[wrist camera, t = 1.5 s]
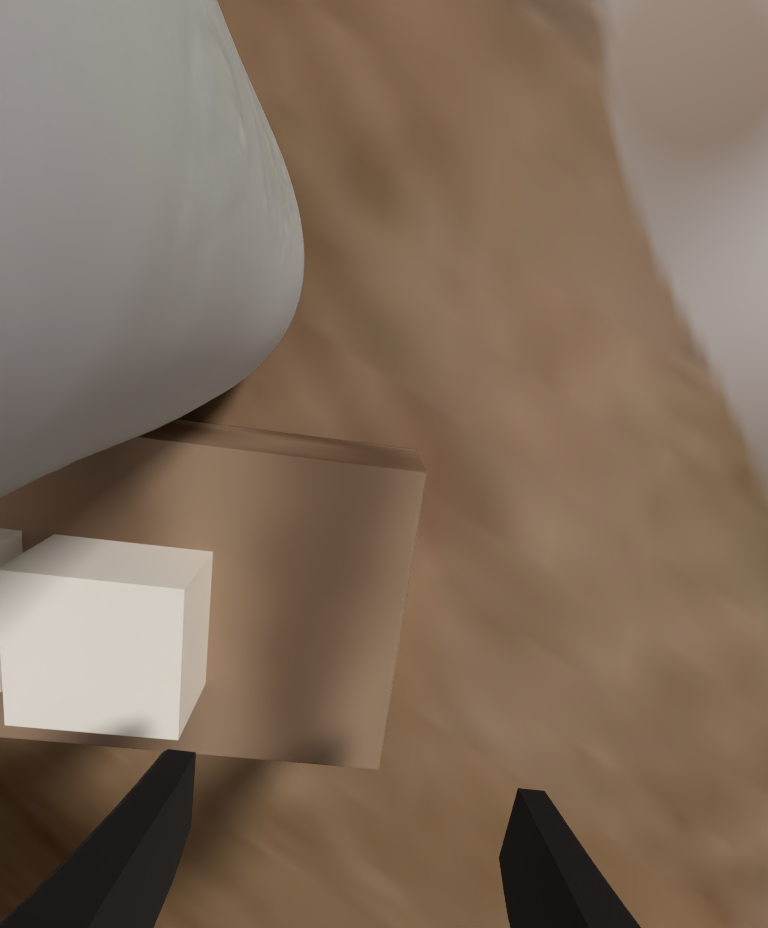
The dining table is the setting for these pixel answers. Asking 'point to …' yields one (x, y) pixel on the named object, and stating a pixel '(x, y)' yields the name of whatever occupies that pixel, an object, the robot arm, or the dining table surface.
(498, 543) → the dining table surface
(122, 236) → the glass bottle
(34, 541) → the tan flat block
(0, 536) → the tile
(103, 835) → the robot arm
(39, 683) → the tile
